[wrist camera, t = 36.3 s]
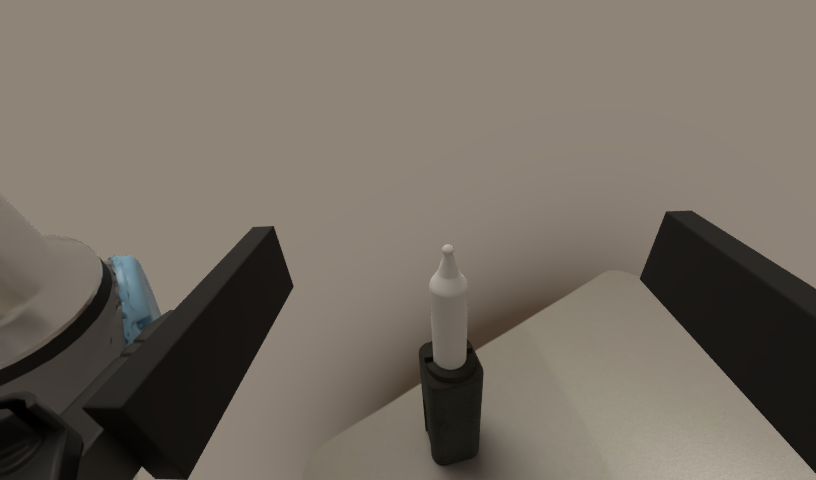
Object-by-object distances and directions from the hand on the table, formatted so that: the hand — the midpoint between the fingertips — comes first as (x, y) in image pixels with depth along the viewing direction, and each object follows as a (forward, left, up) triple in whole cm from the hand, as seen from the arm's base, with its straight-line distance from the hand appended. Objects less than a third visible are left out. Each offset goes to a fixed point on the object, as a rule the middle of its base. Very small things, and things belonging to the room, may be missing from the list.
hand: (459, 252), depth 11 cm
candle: (0, +10, -31) cm, 32 cm away
